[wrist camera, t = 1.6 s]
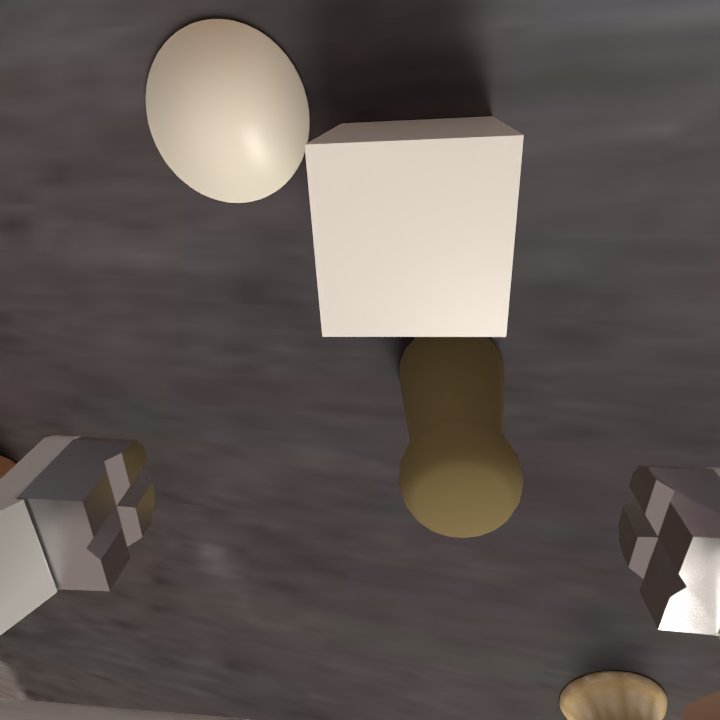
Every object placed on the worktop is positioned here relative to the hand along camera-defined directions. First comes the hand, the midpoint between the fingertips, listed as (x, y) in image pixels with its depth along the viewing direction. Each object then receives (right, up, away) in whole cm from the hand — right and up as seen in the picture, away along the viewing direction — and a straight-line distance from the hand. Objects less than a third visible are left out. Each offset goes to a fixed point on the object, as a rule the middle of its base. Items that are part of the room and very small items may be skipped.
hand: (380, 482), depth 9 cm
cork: (+5, +1, +22) cm, 23 cm away
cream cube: (+2, +10, +17) cm, 20 cm away
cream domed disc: (-7, +14, +17) cm, 23 cm away
